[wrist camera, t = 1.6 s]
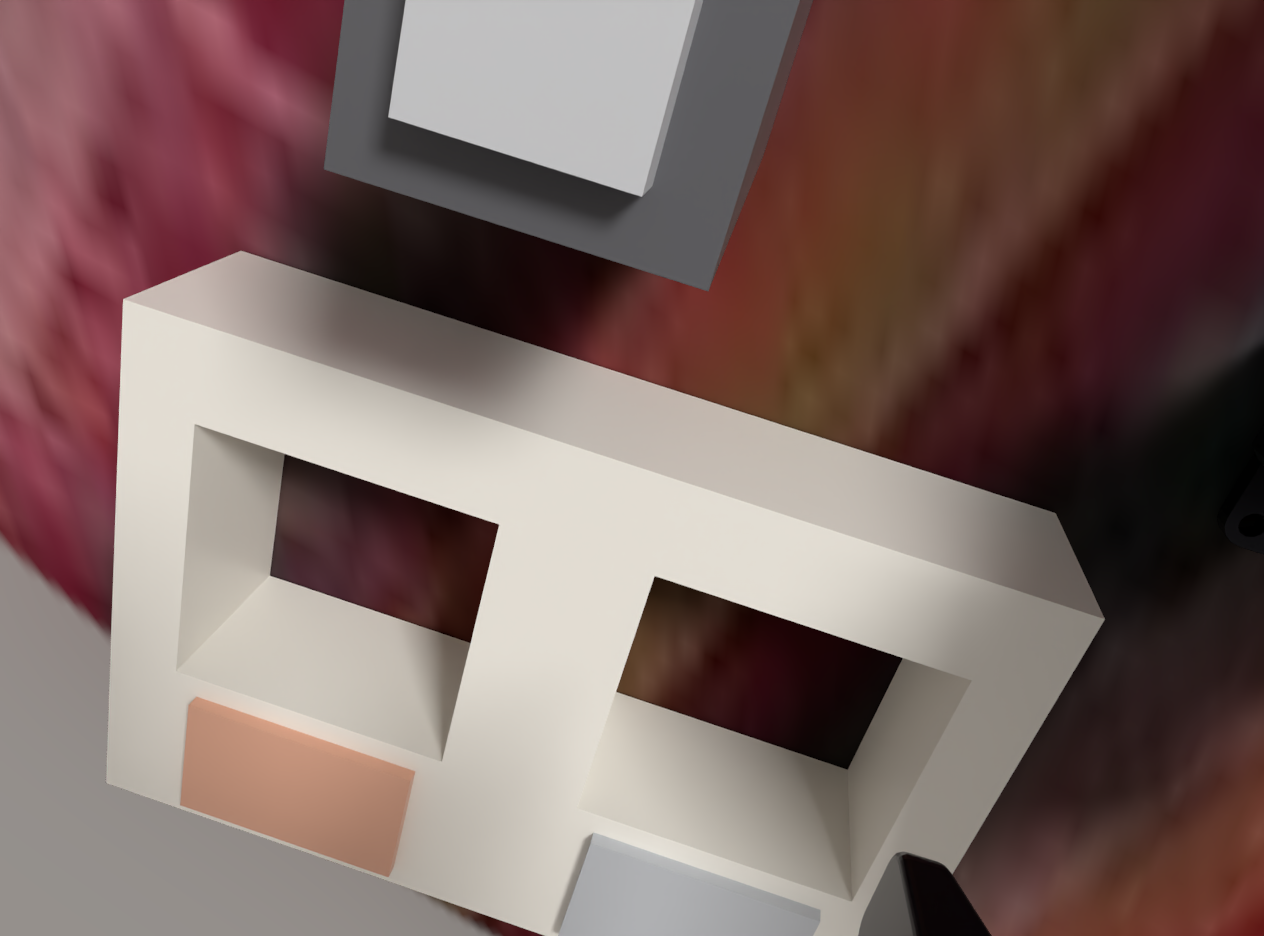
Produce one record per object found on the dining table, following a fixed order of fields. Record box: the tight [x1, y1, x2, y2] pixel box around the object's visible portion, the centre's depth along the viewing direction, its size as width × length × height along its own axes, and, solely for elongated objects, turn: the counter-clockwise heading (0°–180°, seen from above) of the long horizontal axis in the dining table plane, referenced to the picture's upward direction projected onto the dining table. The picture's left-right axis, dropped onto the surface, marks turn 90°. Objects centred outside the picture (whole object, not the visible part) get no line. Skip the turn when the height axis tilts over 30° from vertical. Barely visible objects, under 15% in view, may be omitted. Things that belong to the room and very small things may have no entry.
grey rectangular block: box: [324, 0, 813, 291], centre depth 13 cm, size 4×4×11 cm
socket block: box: [106, 251, 1105, 936], centre depth 22 cm, size 18×12×4 cm, turn 75°
